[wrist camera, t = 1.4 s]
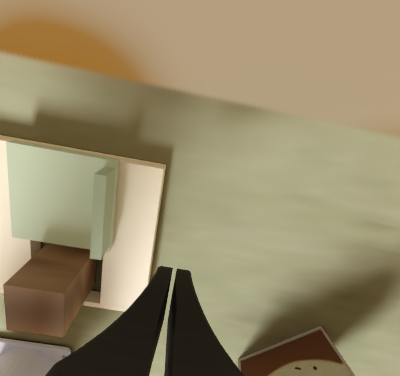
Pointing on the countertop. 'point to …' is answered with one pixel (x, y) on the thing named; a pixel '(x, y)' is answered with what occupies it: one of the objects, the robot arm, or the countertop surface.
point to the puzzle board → (122, 236)
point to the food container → (297, 358)
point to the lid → (62, 196)
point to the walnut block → (49, 290)
